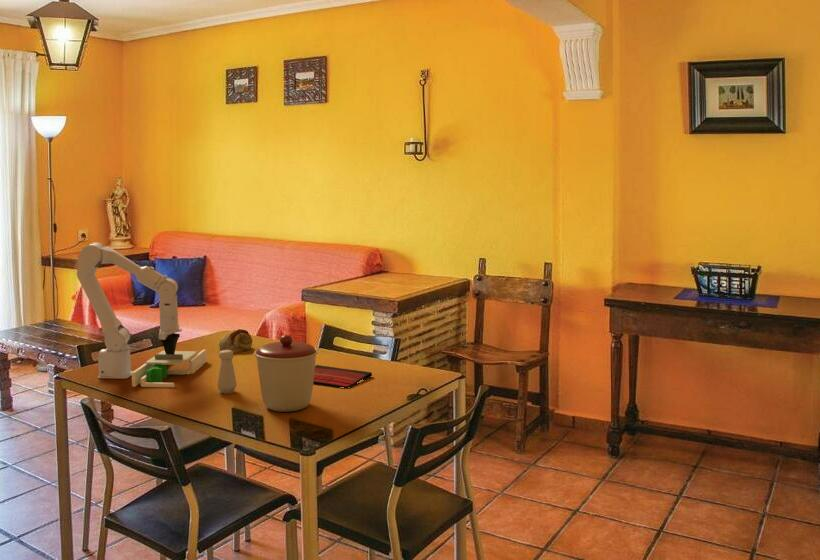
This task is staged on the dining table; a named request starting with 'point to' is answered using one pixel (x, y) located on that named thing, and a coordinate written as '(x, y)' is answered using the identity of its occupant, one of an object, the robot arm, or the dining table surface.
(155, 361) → the door
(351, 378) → the binder
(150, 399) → the dining table surface
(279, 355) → the canister
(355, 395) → the dining table surface
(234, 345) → the pastry
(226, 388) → the salt shaker
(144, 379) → the housing
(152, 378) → the pipe clamp
